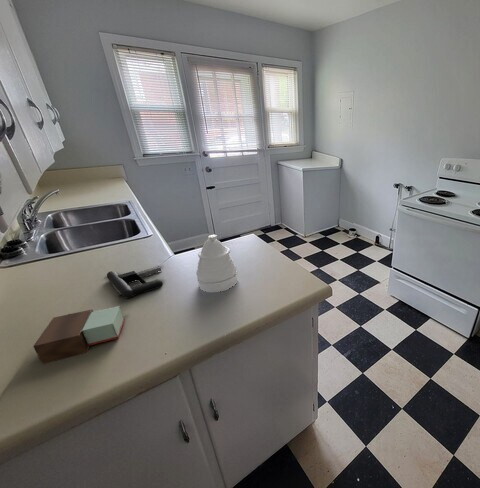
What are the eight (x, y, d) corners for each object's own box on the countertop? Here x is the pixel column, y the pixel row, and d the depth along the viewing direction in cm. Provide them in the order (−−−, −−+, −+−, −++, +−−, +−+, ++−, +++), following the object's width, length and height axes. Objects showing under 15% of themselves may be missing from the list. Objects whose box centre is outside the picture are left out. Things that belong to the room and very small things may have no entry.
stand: (42, 363, 61) (32, 346, 59) (61, 333, 70) (53, 317, 68) (86, 352, 64) (78, 335, 62) (98, 324, 74) (92, 309, 72)
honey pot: (244, 283, 93) (237, 235, 86) (205, 297, 86) (195, 245, 79) (230, 270, 103) (223, 225, 96) (194, 280, 95) (184, 233, 88)
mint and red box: (113, 323, 66) (118, 338, 68) (119, 305, 73) (124, 319, 75) (81, 331, 64) (87, 346, 65) (91, 311, 70) (97, 325, 72)
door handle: (152, 259, 105) (101, 273, 93) (174, 276, 93) (119, 294, 81) (154, 267, 106) (103, 281, 94) (176, 285, 94) (121, 303, 83)
